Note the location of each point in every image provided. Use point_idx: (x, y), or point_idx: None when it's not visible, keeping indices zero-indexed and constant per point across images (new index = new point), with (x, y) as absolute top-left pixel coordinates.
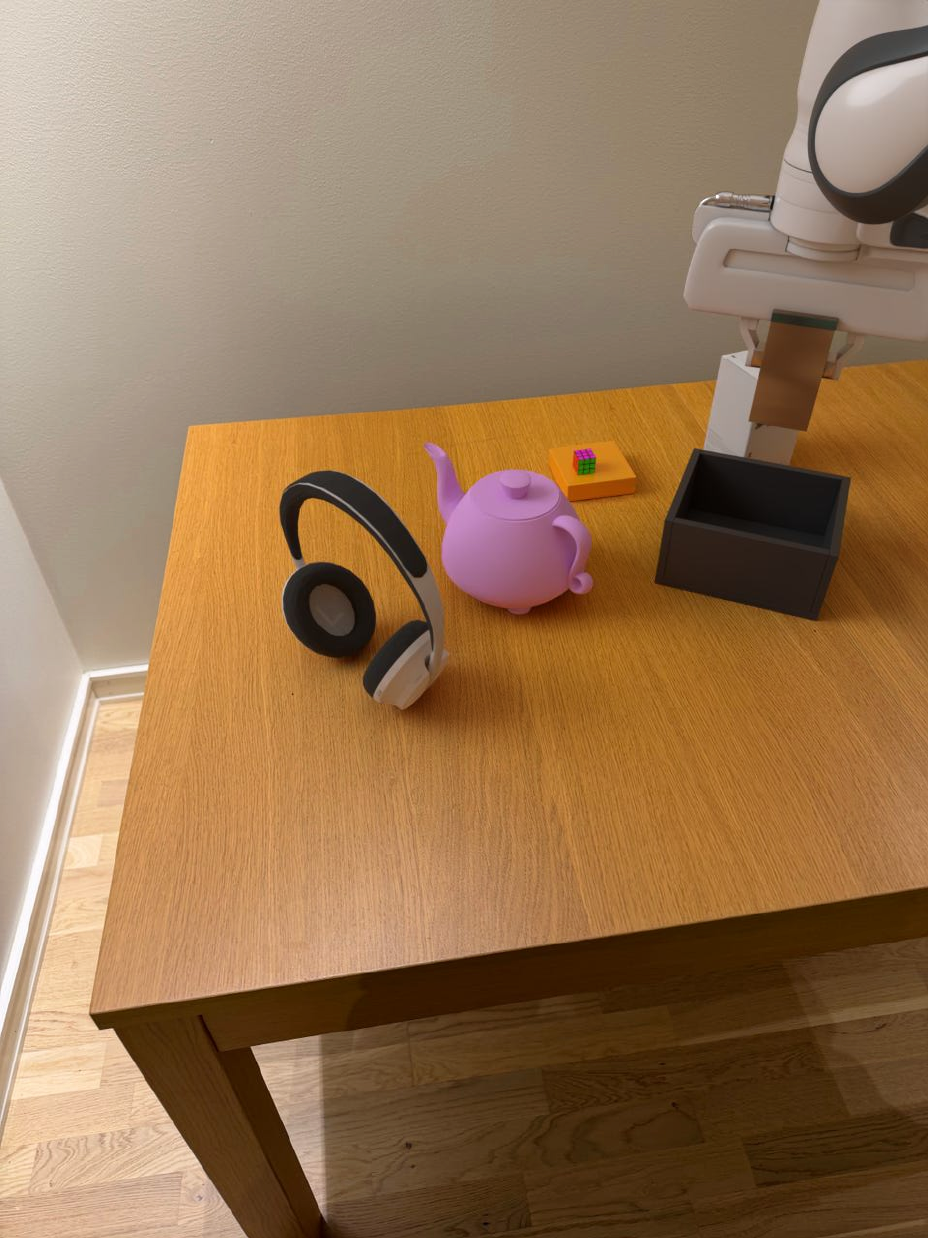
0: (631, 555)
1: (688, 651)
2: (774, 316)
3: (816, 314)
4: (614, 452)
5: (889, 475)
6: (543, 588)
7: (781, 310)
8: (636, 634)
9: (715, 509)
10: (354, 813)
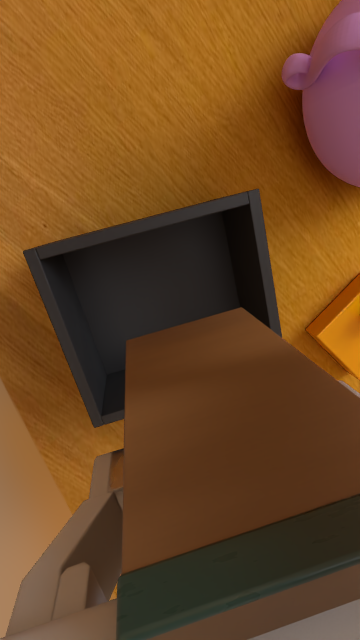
0: (265, 228)
1: (141, 102)
2: None
3: (265, 633)
4: (353, 361)
5: None
6: (336, 12)
7: None
8: (203, 95)
9: None
10: None
